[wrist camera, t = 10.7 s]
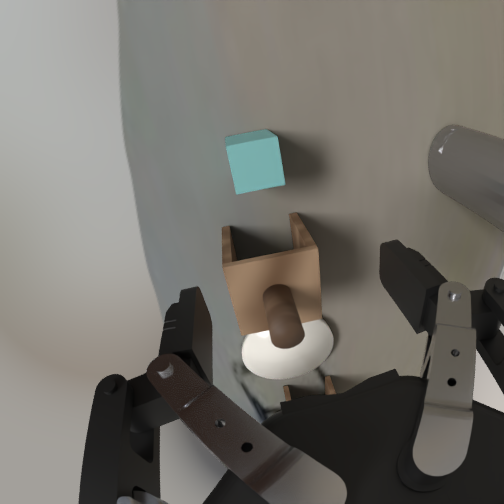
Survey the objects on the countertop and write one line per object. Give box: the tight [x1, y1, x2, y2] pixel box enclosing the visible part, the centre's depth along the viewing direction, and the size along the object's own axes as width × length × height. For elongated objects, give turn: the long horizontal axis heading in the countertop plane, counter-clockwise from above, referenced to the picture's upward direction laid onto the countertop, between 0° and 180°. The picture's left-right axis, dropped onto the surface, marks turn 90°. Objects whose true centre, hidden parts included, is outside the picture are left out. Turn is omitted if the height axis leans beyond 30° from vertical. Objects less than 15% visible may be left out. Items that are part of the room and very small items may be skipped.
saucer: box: [242, 319, 334, 379], centre depth 41 cm, size 13×13×1 cm
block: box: [225, 129, 285, 194], centre depth 25 cm, size 4×4×6 cm
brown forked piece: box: [222, 213, 322, 349], centre depth 28 cm, size 8×8×13 cm
